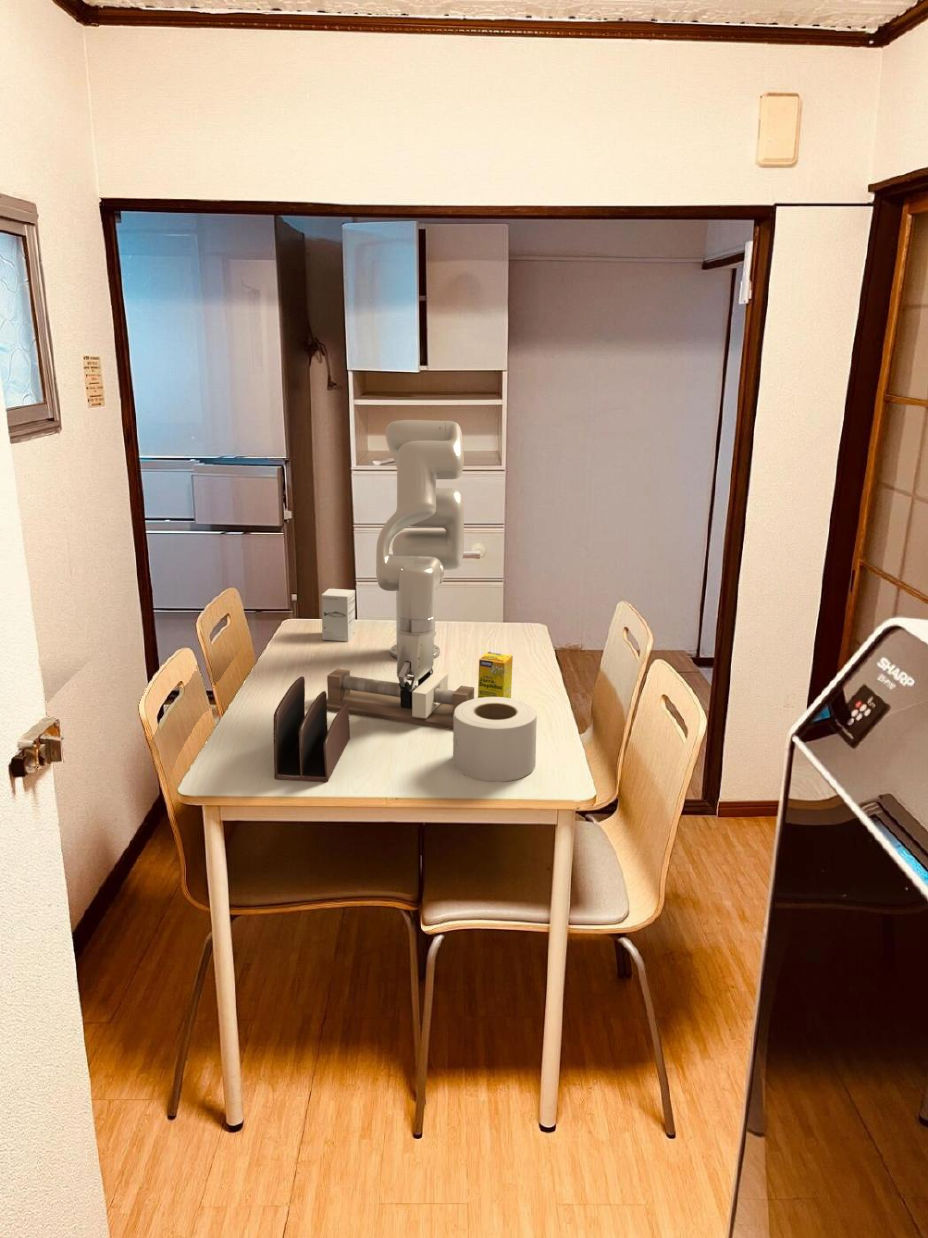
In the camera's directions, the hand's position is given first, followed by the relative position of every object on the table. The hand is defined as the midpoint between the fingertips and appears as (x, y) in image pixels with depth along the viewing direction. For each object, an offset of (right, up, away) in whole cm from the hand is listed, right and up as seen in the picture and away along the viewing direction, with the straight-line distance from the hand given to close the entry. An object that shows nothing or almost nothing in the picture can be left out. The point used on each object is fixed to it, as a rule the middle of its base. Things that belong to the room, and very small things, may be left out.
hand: (416, 700), depth 197 cm
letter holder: (-18, -9, -21) cm, 30 cm away
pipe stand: (-4, -2, +2) cm, 5 cm away
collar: (+3, -1, -1) cm, 3 cm away
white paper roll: (+16, -10, -23) cm, 29 cm away
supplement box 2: (+17, -2, +7) cm, 18 cm away
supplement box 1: (-23, +12, +50) cm, 57 cm away
